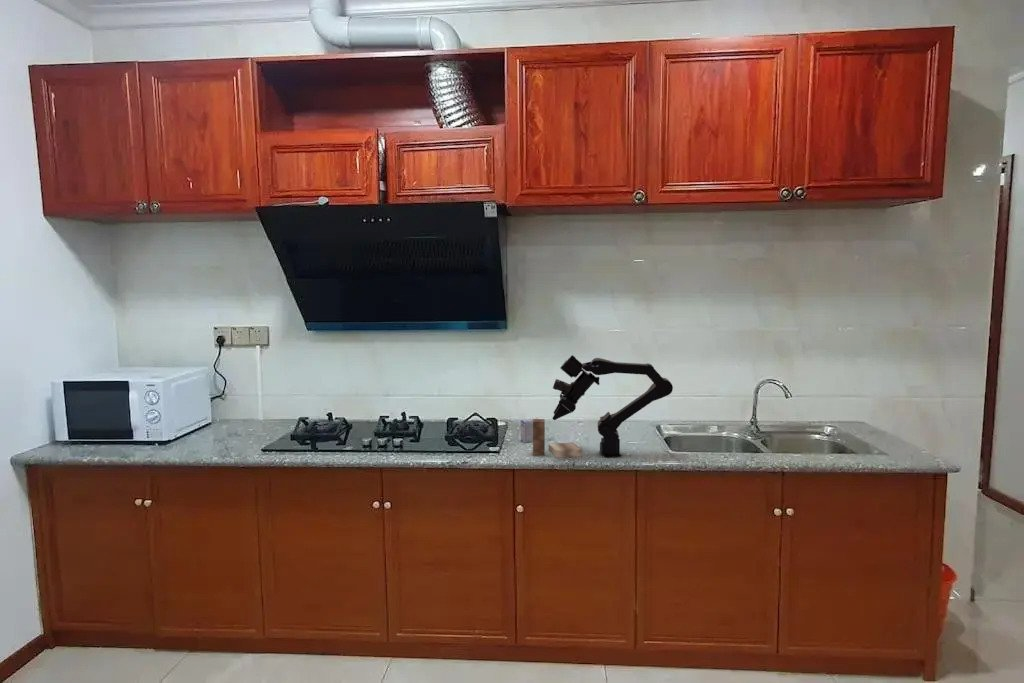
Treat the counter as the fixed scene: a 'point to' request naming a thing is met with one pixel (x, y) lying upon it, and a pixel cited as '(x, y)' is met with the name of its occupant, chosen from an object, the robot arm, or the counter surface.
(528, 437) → the medicine box
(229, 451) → the counter surface
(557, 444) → the birch block
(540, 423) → the walnut block
